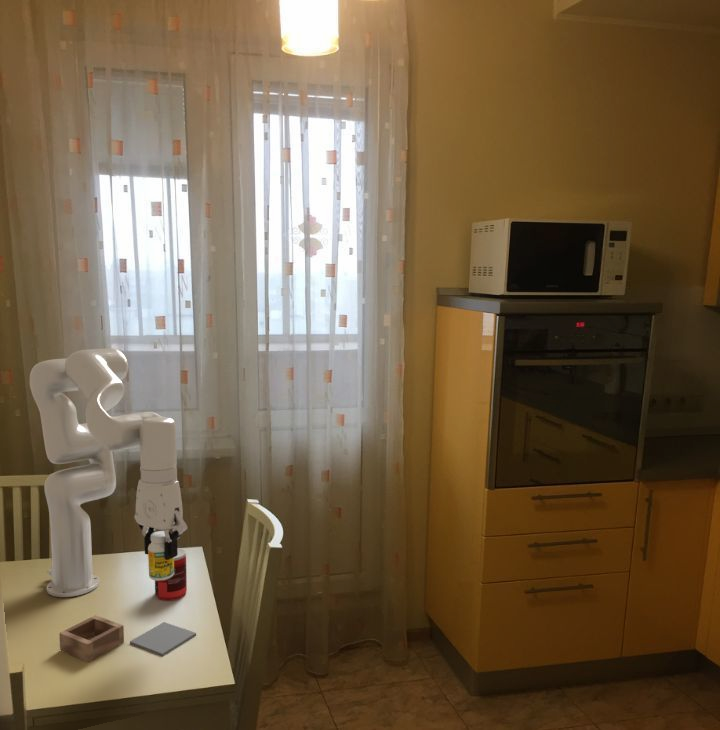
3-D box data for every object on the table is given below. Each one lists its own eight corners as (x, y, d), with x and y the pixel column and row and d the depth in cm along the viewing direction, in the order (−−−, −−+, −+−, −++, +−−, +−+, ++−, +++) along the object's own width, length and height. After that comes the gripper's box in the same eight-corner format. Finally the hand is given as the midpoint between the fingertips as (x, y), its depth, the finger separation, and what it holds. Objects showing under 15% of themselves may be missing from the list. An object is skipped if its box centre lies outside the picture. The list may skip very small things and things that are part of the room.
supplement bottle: (170, 569, 149) (168, 528, 148) (177, 577, 144) (176, 535, 143) (145, 574, 146) (144, 532, 145) (152, 583, 142) (151, 540, 141)
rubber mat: (129, 643, 145) (129, 641, 145) (164, 624, 154) (164, 621, 154) (162, 655, 140) (162, 653, 140) (196, 635, 149) (196, 633, 149)
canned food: (163, 586, 173) (162, 546, 172) (191, 588, 172) (191, 548, 171) (149, 599, 166) (148, 557, 165) (179, 602, 165) (178, 559, 163)
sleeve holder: (60, 650, 142) (59, 633, 141) (96, 631, 150) (95, 615, 149) (88, 662, 137) (87, 644, 137) (124, 642, 145) (123, 625, 145)
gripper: (117, 473, 144) (120, 553, 146) (175, 484, 135) (177, 569, 137) (144, 465, 150) (146, 542, 152) (200, 475, 142) (202, 557, 144)
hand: (161, 554), depth 145 cm, fingers closed on supplement bottle, 5 cm apart
